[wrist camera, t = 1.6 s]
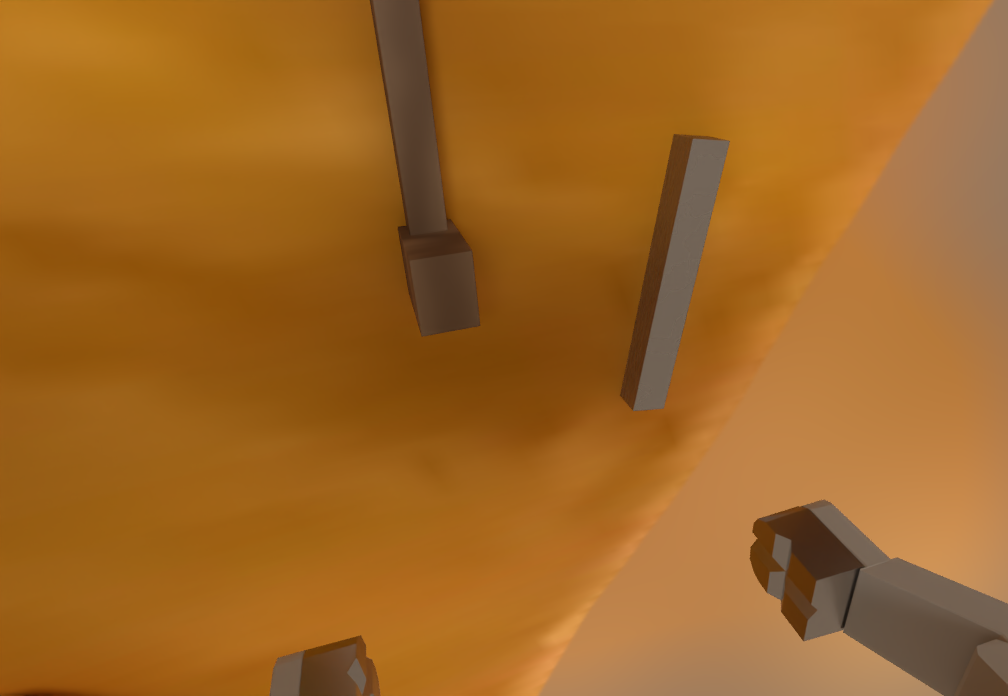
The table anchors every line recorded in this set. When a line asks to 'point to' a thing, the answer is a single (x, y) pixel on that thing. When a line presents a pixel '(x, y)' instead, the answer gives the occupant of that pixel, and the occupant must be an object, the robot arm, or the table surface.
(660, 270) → the straight rod
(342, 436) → the table surface
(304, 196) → the table surface
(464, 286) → the hooked rake
